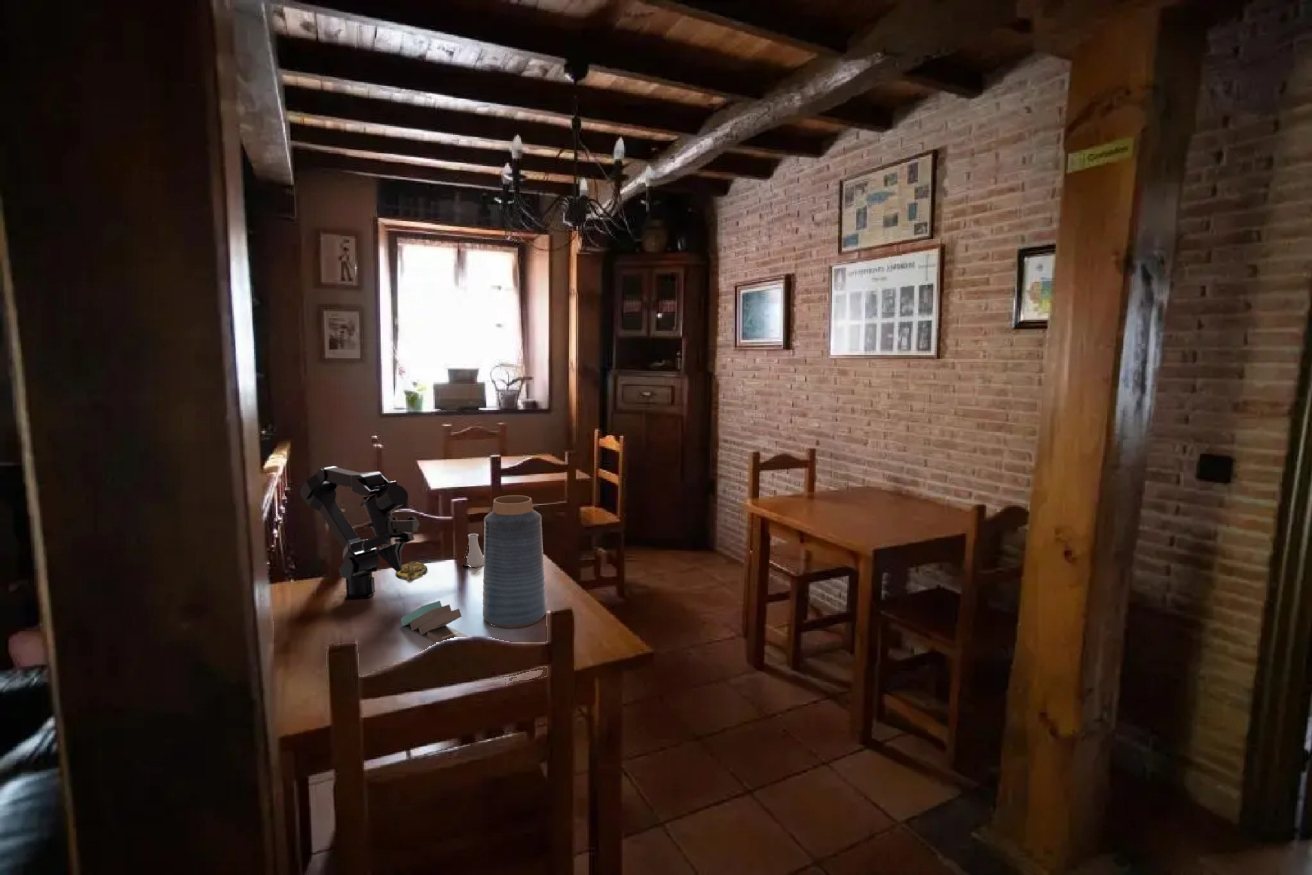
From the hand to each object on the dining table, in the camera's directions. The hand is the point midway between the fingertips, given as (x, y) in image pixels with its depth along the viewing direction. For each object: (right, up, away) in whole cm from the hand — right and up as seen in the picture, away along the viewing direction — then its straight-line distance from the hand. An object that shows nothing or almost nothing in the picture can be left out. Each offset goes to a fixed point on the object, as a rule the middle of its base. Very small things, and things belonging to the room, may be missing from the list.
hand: (399, 571), depth 175 cm
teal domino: (+6, -11, -7) cm, 14 cm away
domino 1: (+9, -11, -10) cm, 18 cm away
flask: (+9, -6, +38) cm, 39 cm away
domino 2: (+12, -12, -13) cm, 21 cm away
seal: (-8, -7, +30) cm, 32 cm away
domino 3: (+15, -12, -15) cm, 24 cm away
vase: (+31, -12, -2) cm, 34 cm away
